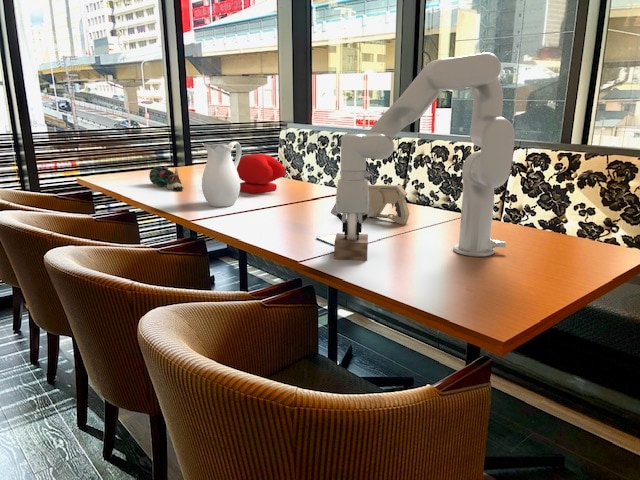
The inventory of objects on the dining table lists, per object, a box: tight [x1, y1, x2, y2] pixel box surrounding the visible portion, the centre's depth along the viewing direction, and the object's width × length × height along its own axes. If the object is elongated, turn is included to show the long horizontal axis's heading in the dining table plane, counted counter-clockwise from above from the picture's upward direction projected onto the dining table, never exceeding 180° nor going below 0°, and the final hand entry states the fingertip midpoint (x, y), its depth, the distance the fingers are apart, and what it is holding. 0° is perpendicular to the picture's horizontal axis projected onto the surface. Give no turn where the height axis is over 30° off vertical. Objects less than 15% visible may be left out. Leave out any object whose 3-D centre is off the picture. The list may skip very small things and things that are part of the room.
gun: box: [362, 184, 410, 226], centre depth 206 cm, size 24×3×15 cm, turn 47°
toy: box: [236, 153, 286, 195], centre depth 265 cm, size 16×20×30 cm
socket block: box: [333, 233, 369, 261], centre depth 161 cm, size 10×10×6 cm
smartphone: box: [316, 233, 336, 247], centre depth 176 cm, size 8×1×16 cm
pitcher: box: [201, 141, 243, 208], centre depth 234 cm, size 24×17×28 cm
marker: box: [346, 213, 358, 240], centre depth 160 cm, size 3×3×12 cm
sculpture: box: [149, 165, 184, 193], centre depth 274 cm, size 13×13×30 cm
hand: (351, 234), depth 160 cm, fingers closed on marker, 3 cm apart
